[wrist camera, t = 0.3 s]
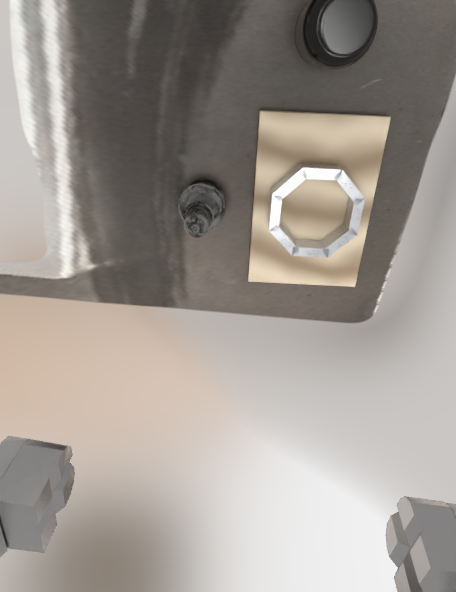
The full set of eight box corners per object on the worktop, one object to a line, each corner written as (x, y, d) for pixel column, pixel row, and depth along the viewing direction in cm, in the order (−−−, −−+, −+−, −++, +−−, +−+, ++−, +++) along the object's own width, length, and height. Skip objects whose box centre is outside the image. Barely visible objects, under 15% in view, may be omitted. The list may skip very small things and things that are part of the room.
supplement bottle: (304, -15, 43) (324, -40, 33) (366, 3, 44) (405, -16, 33) (285, 59, 47) (297, 57, 36) (343, 75, 47) (371, 78, 37)
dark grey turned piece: (228, 178, 53) (224, 206, 43) (224, 222, 56) (220, 258, 45) (182, 174, 53) (167, 201, 43) (181, 218, 56) (166, 253, 45)
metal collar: (273, 161, 50) (274, 166, 48) (364, 165, 50) (370, 170, 48) (265, 245, 56) (266, 254, 53) (347, 249, 56) (352, 258, 53)
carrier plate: (259, 110, 49) (260, 111, 48) (386, 115, 49) (390, 117, 48) (248, 276, 60) (248, 281, 58) (352, 281, 60) (355, 286, 58)
